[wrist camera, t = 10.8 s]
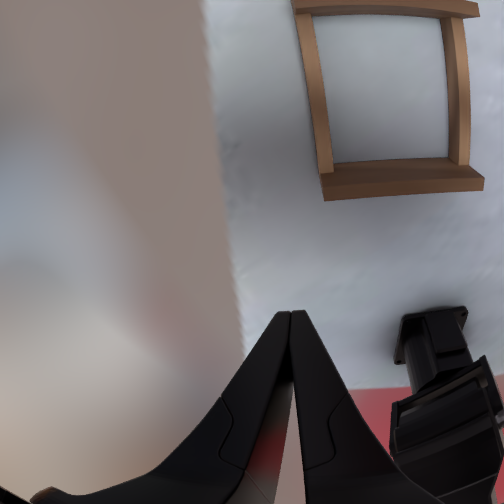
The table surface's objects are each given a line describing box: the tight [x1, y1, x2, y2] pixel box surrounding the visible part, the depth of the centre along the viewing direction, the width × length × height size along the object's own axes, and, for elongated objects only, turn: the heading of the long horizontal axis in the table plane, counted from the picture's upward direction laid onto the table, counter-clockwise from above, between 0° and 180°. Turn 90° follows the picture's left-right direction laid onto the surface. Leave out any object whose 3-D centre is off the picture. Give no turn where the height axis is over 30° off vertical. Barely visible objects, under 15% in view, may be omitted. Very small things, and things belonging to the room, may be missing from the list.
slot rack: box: [291, 0, 484, 201], centre depth 11 cm, size 20×10×4 cm, turn 11°
